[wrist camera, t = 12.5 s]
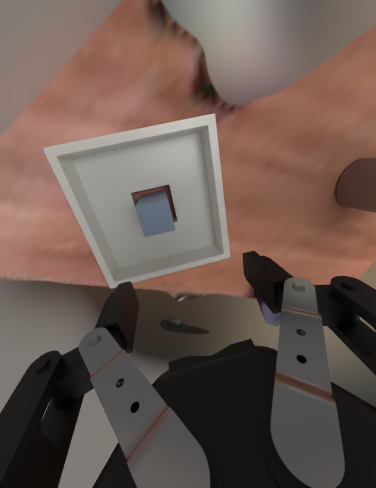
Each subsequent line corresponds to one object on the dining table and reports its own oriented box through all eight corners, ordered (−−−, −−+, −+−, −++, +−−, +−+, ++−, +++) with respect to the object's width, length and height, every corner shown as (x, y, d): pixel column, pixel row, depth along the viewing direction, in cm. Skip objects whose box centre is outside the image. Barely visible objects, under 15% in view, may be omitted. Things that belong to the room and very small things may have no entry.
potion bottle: (271, 268, 41) (312, 305, 30) (286, 289, 44) (328, 328, 33) (241, 291, 42) (270, 334, 31) (258, 309, 45) (290, 354, 34)
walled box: (201, 126, 27) (214, 113, 21) (217, 241, 36) (230, 257, 29) (70, 152, 26) (42, 148, 19) (119, 266, 34) (110, 288, 28)
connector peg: (164, 189, 30) (167, 199, 21) (170, 212, 32) (175, 230, 23) (141, 195, 30) (134, 206, 21) (148, 217, 31) (144, 237, 22)
